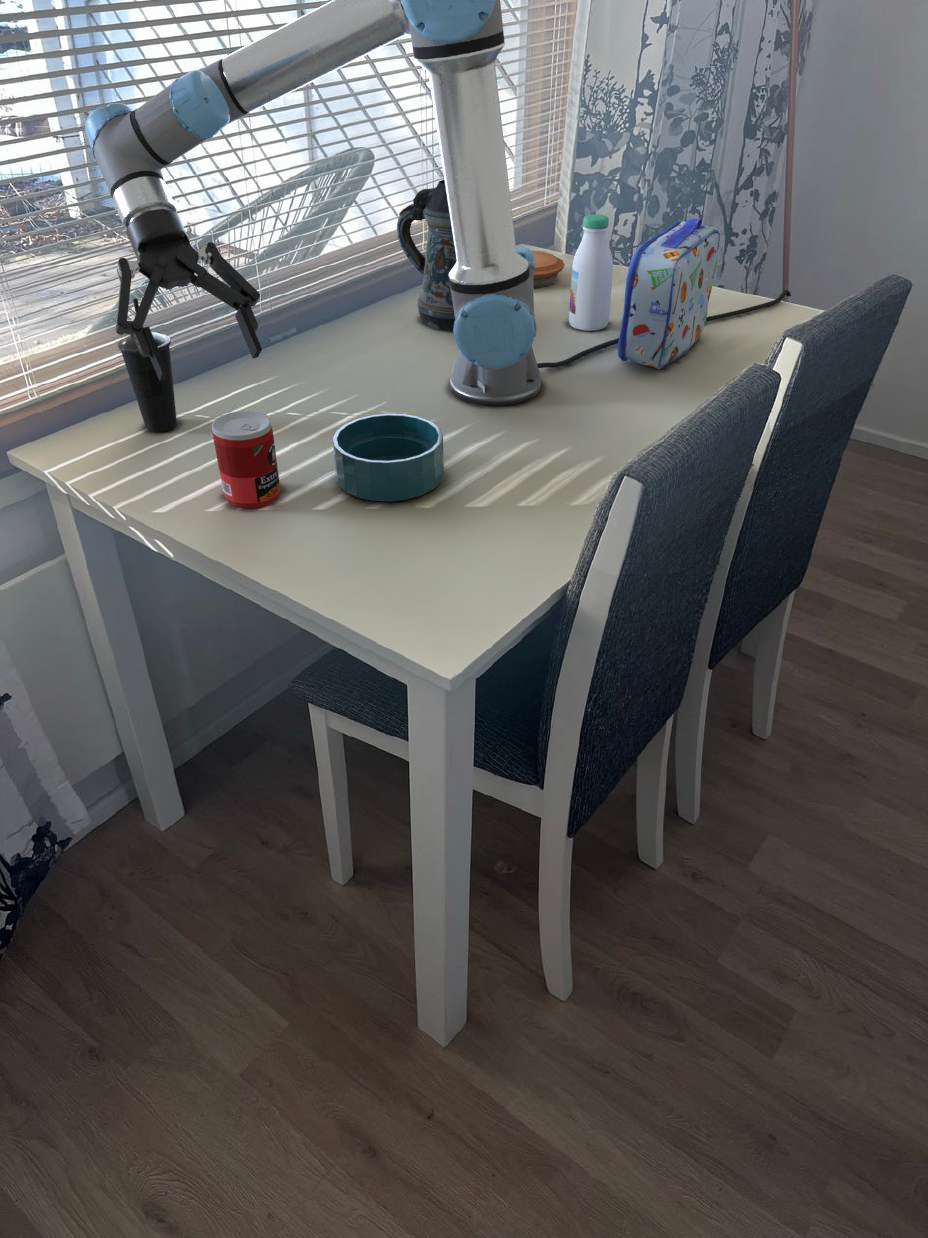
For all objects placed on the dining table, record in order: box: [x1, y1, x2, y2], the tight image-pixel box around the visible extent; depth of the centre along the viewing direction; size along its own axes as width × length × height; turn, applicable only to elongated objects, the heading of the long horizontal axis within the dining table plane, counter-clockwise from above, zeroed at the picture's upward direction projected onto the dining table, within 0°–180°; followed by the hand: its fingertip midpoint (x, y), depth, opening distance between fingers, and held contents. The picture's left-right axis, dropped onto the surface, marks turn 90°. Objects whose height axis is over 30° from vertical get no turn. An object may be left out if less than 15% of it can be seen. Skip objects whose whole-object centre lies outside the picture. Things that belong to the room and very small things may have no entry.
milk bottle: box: [568, 213, 614, 332], centre depth 181 cm, size 8×8×20 cm
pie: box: [531, 250, 566, 289], centre depth 208 cm, size 16×16×5 cm
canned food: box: [211, 410, 281, 509], centre depth 131 cm, size 8×8×11 cm
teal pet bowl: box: [332, 413, 445, 502], centre depth 136 cm, size 15×15×6 cm
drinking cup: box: [117, 298, 178, 433], centre depth 146 cm, size 8×8×20 cm
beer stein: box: [396, 179, 457, 332], centre depth 183 cm, size 16×19×25 cm
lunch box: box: [617, 217, 721, 370], centre depth 170 cm, size 28×10×22 cm, turn 152°
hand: (211, 365), depth 132 cm, fingers open, 13 cm apart
